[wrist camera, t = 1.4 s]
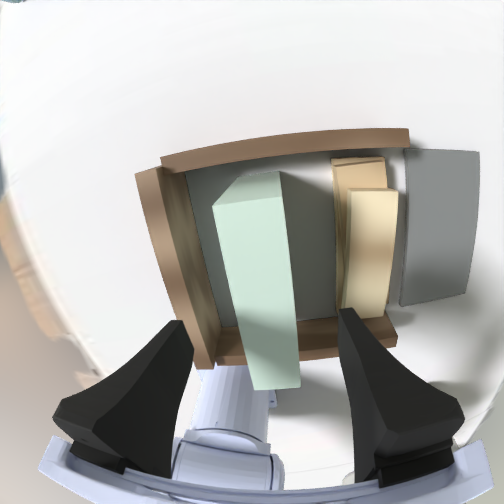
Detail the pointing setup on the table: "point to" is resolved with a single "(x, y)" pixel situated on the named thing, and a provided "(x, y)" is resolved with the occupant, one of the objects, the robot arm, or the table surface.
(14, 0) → the lunch bag
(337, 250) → the offcuts
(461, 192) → the mat
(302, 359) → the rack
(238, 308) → the pale green block
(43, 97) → the table surface
